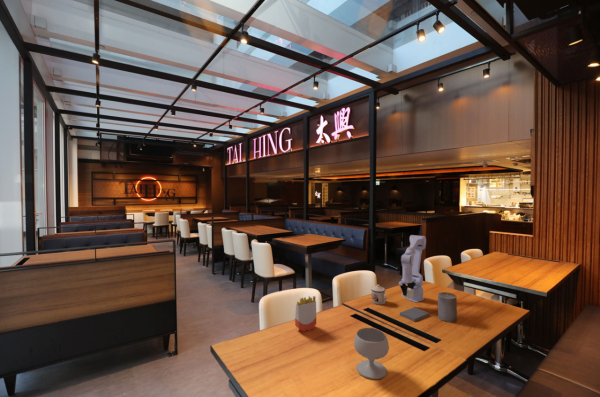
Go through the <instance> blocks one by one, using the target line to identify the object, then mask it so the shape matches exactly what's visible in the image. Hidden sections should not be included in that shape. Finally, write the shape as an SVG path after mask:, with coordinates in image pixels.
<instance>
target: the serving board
mask: <svg viewBox="0 0 600 397" xmlns="http://www.w3.org/2000/svg"><path fill="white" fill-rule="evenodd" d="M399 316H400V317H403V318H405V319H408V320H410V321H412V322H417V321H420V320H422V319H424V318H426V317H429V316H430V312H428V311H425V310H424V309H423V310H422V309H420V308H417V307H415V306H414V307H411V308H409V309H406V310H403V311H401V312H399Z"/></svg>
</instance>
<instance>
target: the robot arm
mask: <svg viewBox="0 0 600 397" xmlns="http://www.w3.org/2000/svg"><path fill="white" fill-rule="evenodd" d="M409 243H410V245H409V246H408V247H407V248H406V250H405V252H404V253H403V254H402V255H401V256H400V262H401V267H402V278H401V280H400V281H398V286H399V287H400V289H401V294H402V293H403V295H404V296H406V295H407V289H408V288H411V289H413V298H410V299H407V298H405V299H406V300H408V301H411V302H414V303H418V302H422V301H425V298H424V288H423V285H424V277H423V275H422V274H421V273H420V269H421V261H422V255H423V254H422V253H423V250H425V249H426V247H427V246H426V245H427V237H426V236H425V235H414V234H411V235H410V236H409Z"/></svg>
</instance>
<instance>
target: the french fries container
mask: <svg viewBox="0 0 600 397" xmlns="http://www.w3.org/2000/svg"><path fill="white" fill-rule="evenodd" d="M294 316H295V318H294V322H295V326H296V328H298V329H299V330H300V331H301V332H303V331H305V332H307V331H306V330H309V331H311V330H310V329H312V330H313V329H314V328H315V327H316V325H317V300H316V296H315V295H313V296H312V297H311V296H310V295H309V296H308V298H306V297H301V298H299V301H297V302H296V305H295V314H294Z"/></svg>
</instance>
